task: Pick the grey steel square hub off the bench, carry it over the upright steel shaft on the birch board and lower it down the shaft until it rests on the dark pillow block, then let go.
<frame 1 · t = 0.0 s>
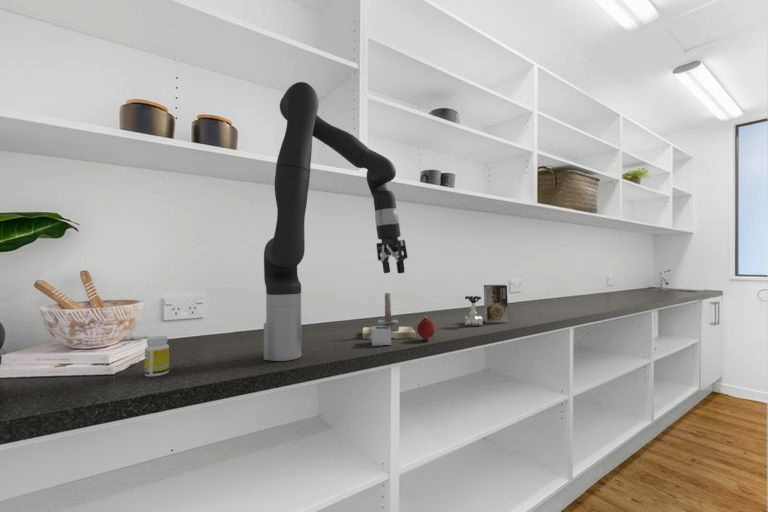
hand: (393, 273, 116), 22 cm above the worktop, tool pointing down, fingers open, 8 cm apart
valve: (473, 326, 145), on the worktop
supplement bottle: (156, 374, 82), on the worktop
shaft stand: (388, 335, 126), on the worktop
hub: (381, 343, 112), on the worktop
onion: (426, 340, 117), on the worktop
coffee box: (496, 322, 155), on the worktop
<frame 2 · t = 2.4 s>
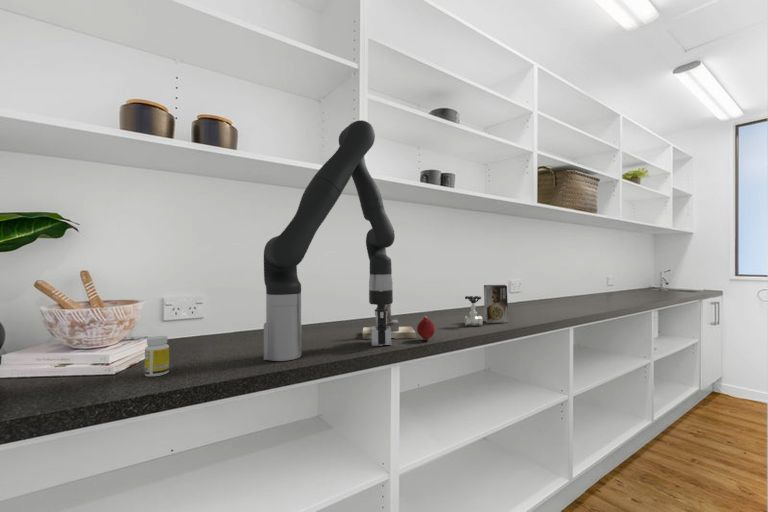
hand: (381, 341, 112), 1 cm above the worktop, tool pointing down, fingers closed on hub, 6 cm apart
hub: (381, 343, 112), on the worktop, touching gripper
everything else where it was.
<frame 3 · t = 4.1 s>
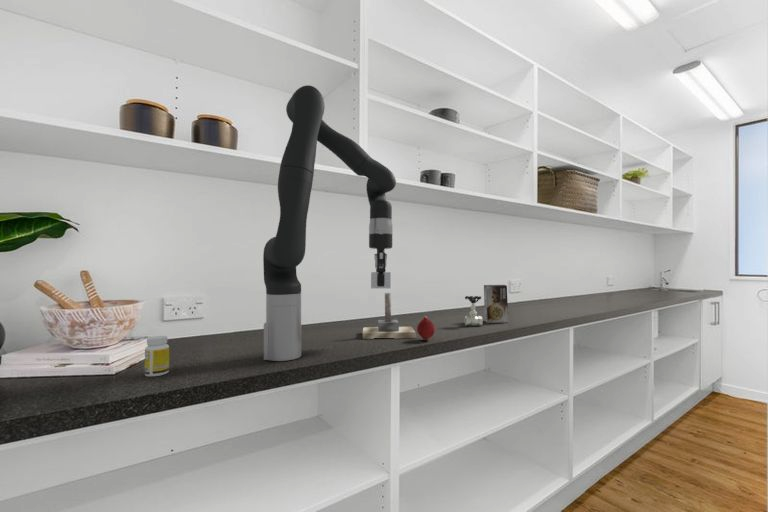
hand: (380, 285, 113), 18 cm above the worktop, tool pointing down, fingers closed on hub, 6 cm apart
hub: (380, 288, 113), point 18 cm above the worktop, touching gripper
everything else where it was.
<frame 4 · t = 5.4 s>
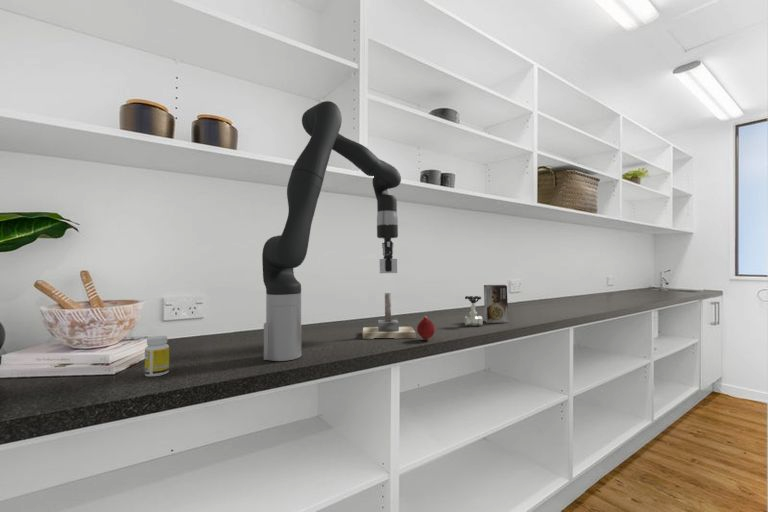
hand: (388, 271, 127), 23 cm above the worktop, tool pointing down, fingers closed on hub, 6 cm apart
hub: (388, 272, 127), point 22 cm above the worktop, touching gripper
everything else where it was.
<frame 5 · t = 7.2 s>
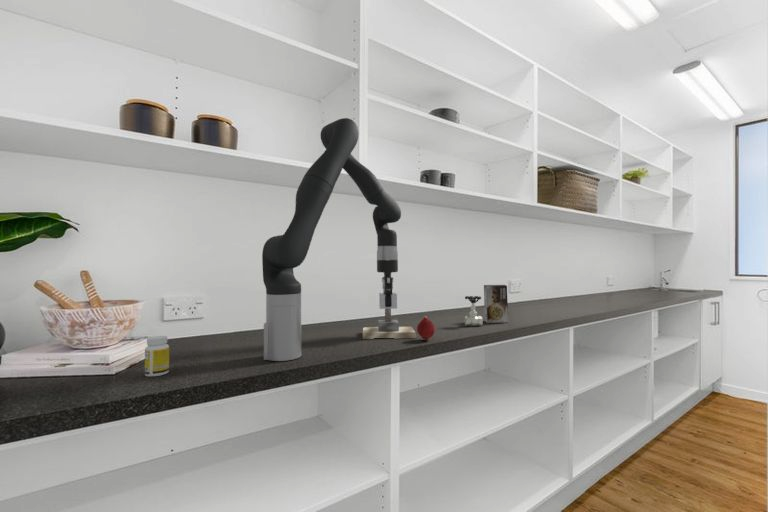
hand: (387, 305, 127), 10 cm above the worktop, tool pointing down, fingers closed on hub, 6 cm apart
hub: (388, 307, 127), point 10 cm above the worktop, touching gripper
everything else where it was.
when the fingers open (6 cm above the worktop, at t = 8.5 s): hub stays where it is, resting on shaft stand.
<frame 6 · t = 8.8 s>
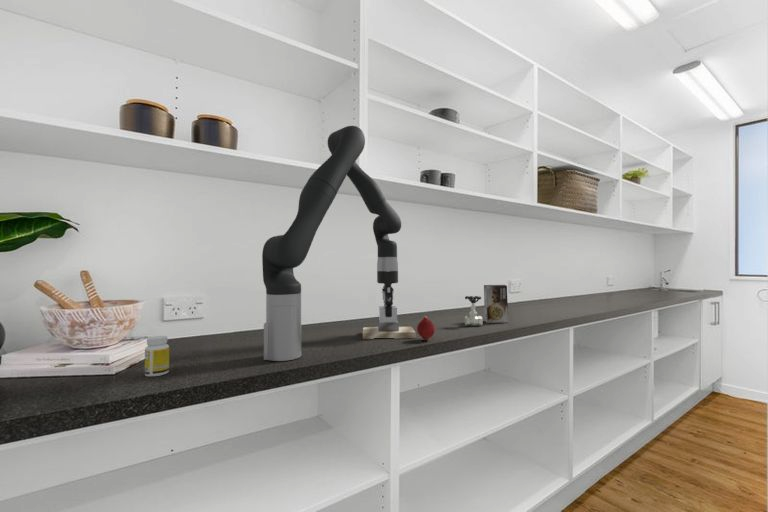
hand: (388, 315, 127), 7 cm above the worktop, tool pointing down, fingers open, 8 cm apart
hub: (388, 321, 126), point 5 cm above the worktop, touching shaft stand
everything else where it was.
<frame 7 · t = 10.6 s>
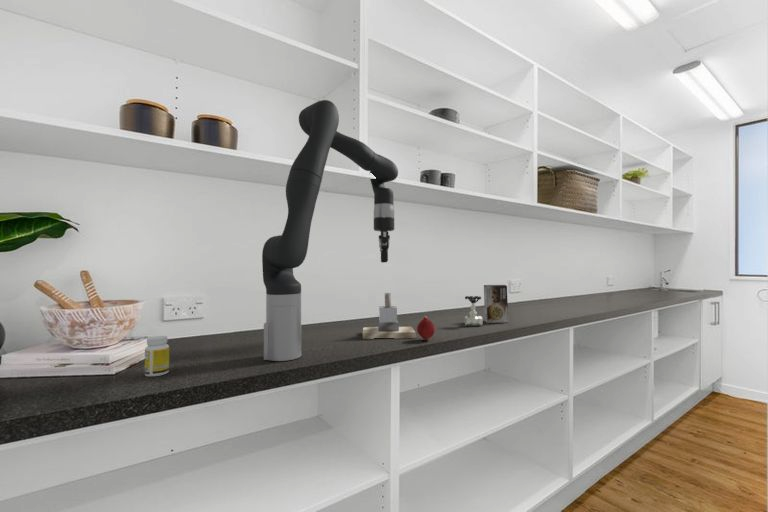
hand: (384, 262, 128), 26 cm above the worktop, tool pointing down, fingers open, 8 cm apart
nothing on the worktop moved.
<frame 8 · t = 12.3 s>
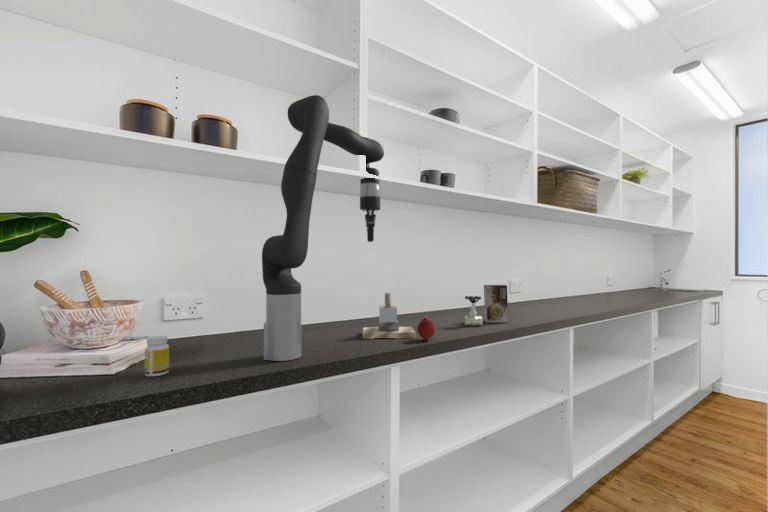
hand: (370, 240, 130), 34 cm above the worktop, tool pointing down, fingers open, 8 cm apart
nothing on the worktop moved.
at the end: hub 0.1 cm off-centre on the shaft stand, point 5.0 cm above the shaft stand's base; the gripper is holding nothing; hub tilted 0° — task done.
